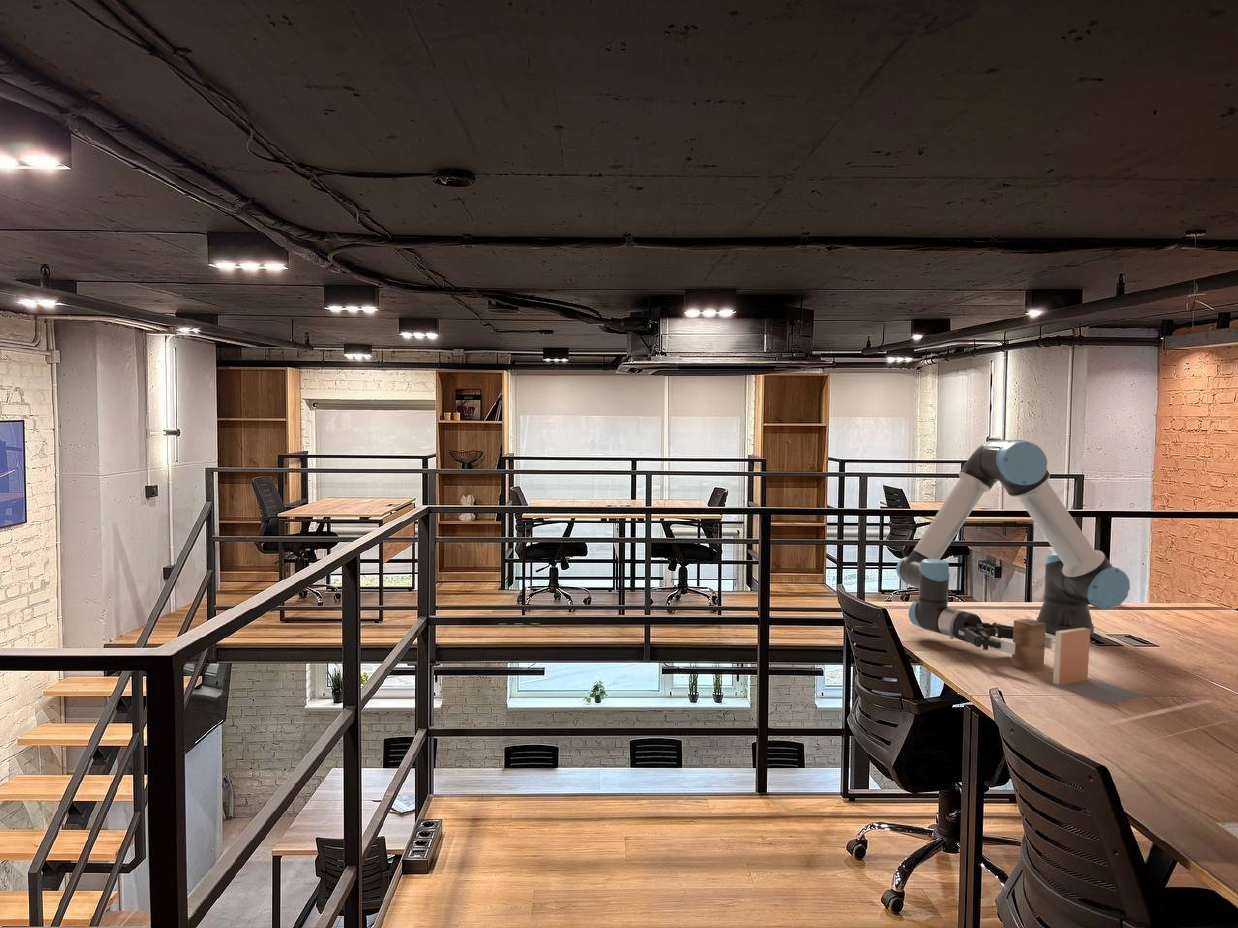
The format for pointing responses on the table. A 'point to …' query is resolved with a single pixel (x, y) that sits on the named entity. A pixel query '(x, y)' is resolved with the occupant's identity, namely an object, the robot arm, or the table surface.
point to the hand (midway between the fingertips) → (1033, 645)
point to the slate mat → (1099, 691)
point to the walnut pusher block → (1029, 645)
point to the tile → (1071, 656)
